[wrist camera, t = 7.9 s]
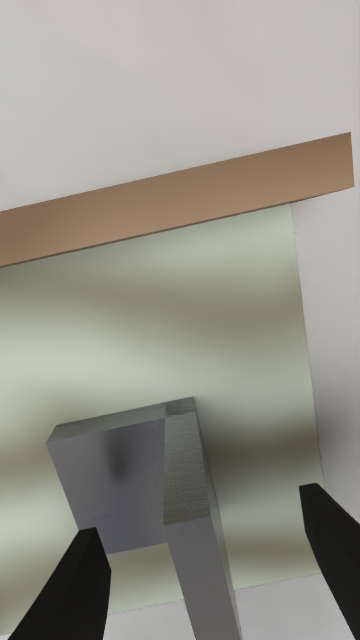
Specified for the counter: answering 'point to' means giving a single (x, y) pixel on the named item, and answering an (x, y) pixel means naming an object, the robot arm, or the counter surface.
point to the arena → (164, 357)
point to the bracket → (153, 499)
